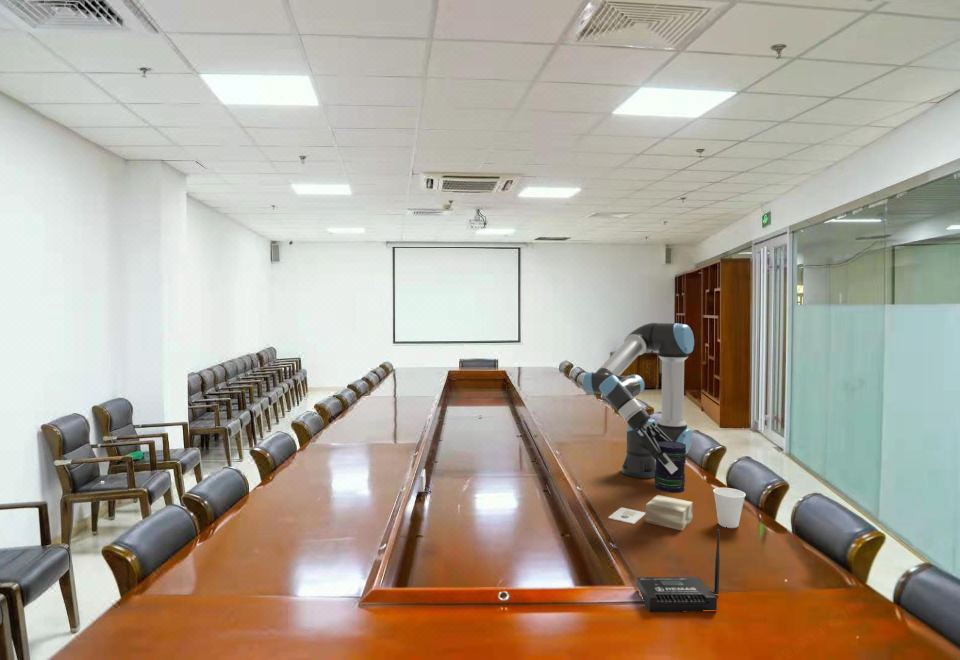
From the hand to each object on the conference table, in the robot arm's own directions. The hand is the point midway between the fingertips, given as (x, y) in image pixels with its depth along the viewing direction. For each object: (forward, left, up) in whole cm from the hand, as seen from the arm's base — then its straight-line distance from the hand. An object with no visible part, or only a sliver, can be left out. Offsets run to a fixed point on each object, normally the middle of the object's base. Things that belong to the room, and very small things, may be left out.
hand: (679, 468), depth 194 cm
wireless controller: (+51, +16, -19) cm, 57 cm away
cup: (-8, +14, -19) cm, 25 cm away
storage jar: (0, -3, -8) cm, 8 cm away
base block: (0, -3, -18) cm, 19 cm away
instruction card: (+4, -16, -18) cm, 25 cm away
